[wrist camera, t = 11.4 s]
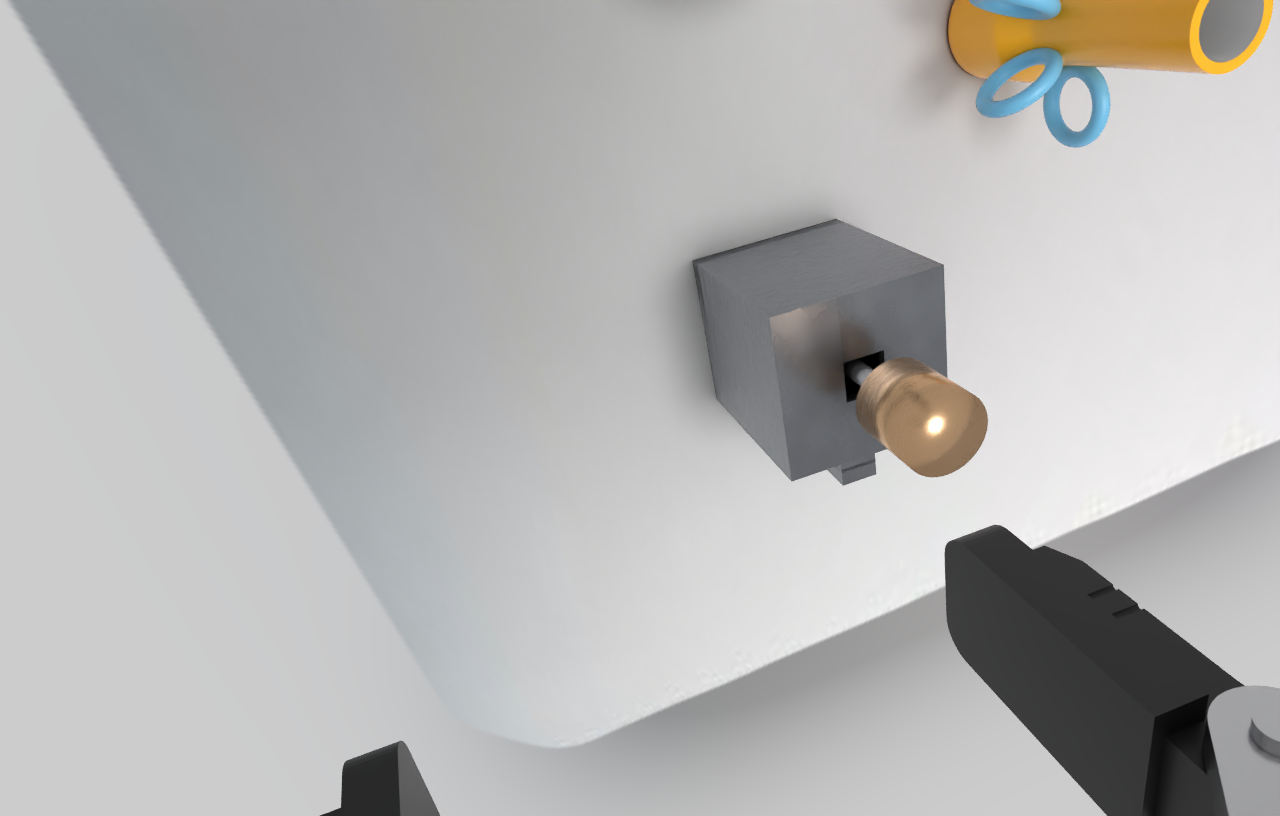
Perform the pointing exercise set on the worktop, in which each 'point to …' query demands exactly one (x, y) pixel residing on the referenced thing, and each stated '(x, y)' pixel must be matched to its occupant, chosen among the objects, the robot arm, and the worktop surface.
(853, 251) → the frame
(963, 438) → the plunger
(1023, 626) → the robot arm
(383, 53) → the worktop surface
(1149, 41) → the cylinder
